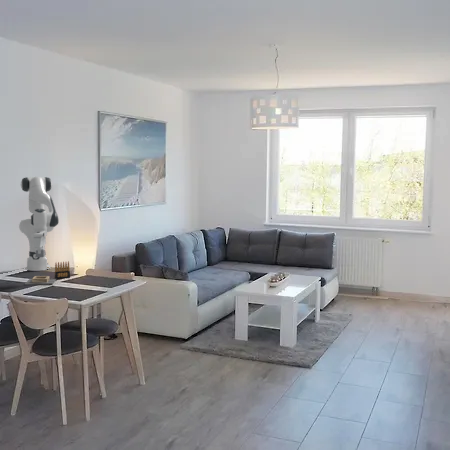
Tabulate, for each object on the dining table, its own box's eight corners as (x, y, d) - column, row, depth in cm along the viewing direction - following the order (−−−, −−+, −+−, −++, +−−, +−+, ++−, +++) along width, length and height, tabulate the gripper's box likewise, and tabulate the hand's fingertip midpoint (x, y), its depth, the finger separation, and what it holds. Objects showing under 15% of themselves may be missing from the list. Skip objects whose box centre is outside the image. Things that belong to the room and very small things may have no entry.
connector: (37, 256, 405) (37, 247, 404) (44, 256, 405) (44, 247, 405) (36, 257, 401) (35, 248, 400) (43, 257, 402) (43, 248, 401)
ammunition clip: (69, 277, 425) (69, 260, 423) (70, 277, 423) (70, 261, 422) (54, 278, 420) (54, 261, 418) (55, 279, 418) (55, 262, 416)
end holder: (30, 280, 412) (29, 275, 412) (56, 280, 414) (56, 275, 414) (24, 285, 396) (24, 279, 396) (52, 285, 398) (52, 279, 398)
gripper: (38, 230, 411) (38, 250, 413) (32, 234, 391) (32, 255, 393) (47, 231, 412) (48, 250, 414) (41, 234, 392) (42, 255, 393)
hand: (40, 252), depth 403 cm, fingers closed on connector, 4 cm apart
